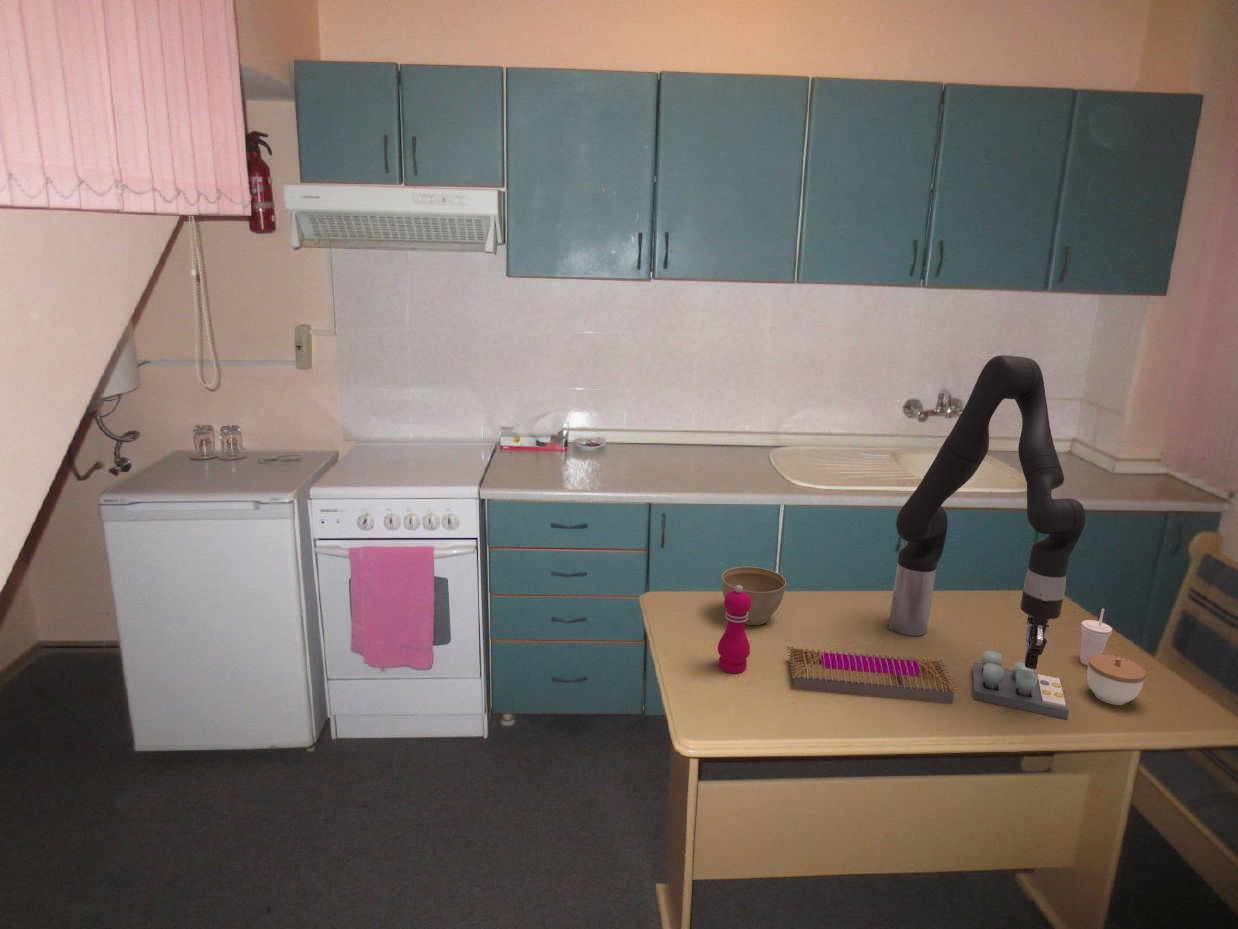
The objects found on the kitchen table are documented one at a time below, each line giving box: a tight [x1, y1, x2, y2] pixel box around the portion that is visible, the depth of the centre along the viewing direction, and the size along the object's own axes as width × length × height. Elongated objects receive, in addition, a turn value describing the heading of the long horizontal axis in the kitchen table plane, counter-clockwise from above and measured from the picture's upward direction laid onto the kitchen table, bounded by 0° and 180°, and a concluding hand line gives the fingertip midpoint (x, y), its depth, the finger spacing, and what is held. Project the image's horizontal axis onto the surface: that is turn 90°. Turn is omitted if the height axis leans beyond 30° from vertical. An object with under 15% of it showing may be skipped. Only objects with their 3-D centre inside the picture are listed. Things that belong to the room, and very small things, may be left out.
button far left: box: [981, 649, 1003, 667], centre depth 184 cm, size 4×4×4 cm
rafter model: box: [786, 646, 961, 704], centre depth 182 cm, size 35×14×6 cm, turn 84°
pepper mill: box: [717, 585, 751, 674], centre depth 184 cm, size 7×7×20 cm
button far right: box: [1012, 661, 1035, 680], centre depth 183 cm, size 4×4×4 cm
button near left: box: [982, 663, 1004, 689], centre depth 179 cm, size 4×4×4 cm
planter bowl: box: [721, 566, 787, 626], centre depth 210 cm, size 16×16×11 cm
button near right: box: [1015, 670, 1037, 696], centre depth 176 cm, size 4×4×4 cm
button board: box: [972, 661, 1069, 720], centre depth 180 cm, size 18×14×3 cm
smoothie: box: [1079, 608, 1113, 667], centre depth 194 cm, size 6×6×14 cm
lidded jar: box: [1086, 653, 1147, 706], centre depth 179 cm, size 11×11×9 cm
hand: (1030, 667), depth 175 cm, fingers closed
